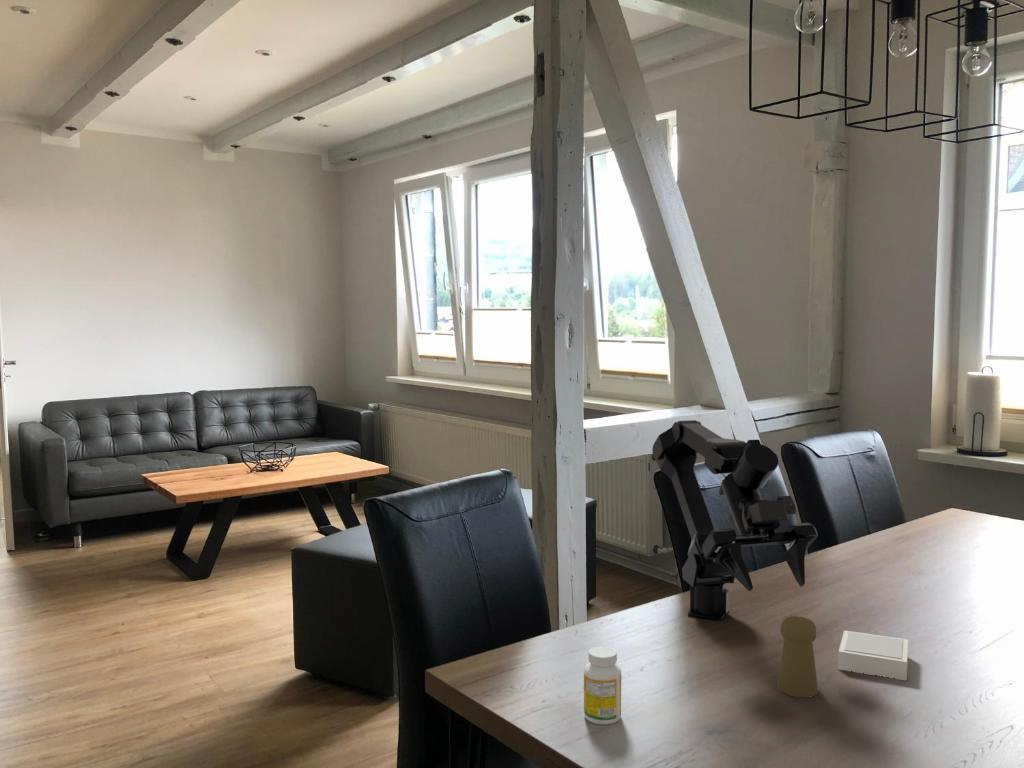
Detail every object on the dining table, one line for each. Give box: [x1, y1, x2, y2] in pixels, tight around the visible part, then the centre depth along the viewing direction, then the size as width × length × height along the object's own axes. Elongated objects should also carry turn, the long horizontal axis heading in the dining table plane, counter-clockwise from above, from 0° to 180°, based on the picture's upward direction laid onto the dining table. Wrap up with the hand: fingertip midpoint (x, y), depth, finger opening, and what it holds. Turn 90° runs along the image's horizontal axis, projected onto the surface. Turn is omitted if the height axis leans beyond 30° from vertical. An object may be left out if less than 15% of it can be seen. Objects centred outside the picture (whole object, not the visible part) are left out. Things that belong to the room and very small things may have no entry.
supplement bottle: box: [583, 646, 622, 726], centre depth 122 cm, size 5×5×10 cm
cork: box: [776, 615, 819, 698], centre depth 130 cm, size 6×6×11 cm
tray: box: [837, 630, 909, 681], centre depth 139 cm, size 10×10×3 cm
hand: (777, 587), depth 137 cm, fingers open, 9 cm apart
